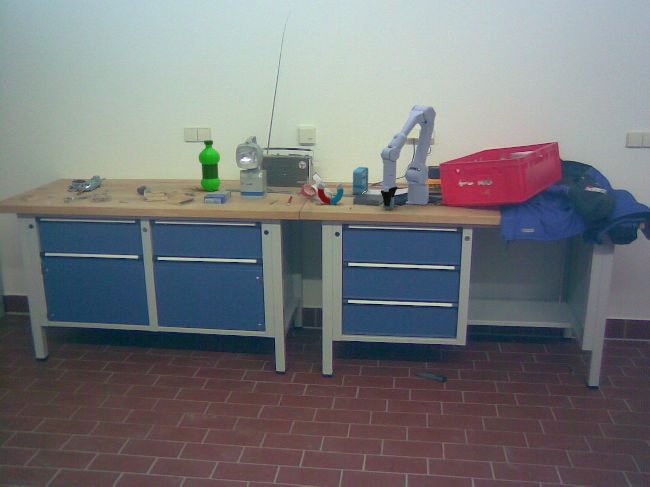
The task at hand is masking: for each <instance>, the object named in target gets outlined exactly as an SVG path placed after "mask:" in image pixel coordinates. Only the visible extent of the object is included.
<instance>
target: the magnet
mask: <svg viewBox="0 0 650 487" xmlns="http://www.w3.org/2000/svg"><path fill="white" fill-rule="evenodd" d="M325 187H326V184H325V183H323V182H321V181H320V182H319V184H318V187H317V197H318V198H319V199H320V201H321V202H322V203H323V204H325V205H330V206H332V205H335V204H338V203H339V202H340V201H341V200H342V198H343V195H344V186H343V183H342V182H339V183H337V184H336V185H335V188H336V194H335V196H333V197H330V196H327V195H326V194H325Z"/></svg>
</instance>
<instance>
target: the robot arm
mask: <svg viewBox="0 0 650 487" xmlns="http://www.w3.org/2000/svg"><path fill="white" fill-rule="evenodd" d="M408 113H409V114H408V115H409V117H408V118H407V120H406V122H405V123H404V124H403V126H402V129H401V130H400V132H398V133H396V134H394V135H393V137H392V139H391V140H390V142H389V143H388V145H387V146H386V147H384V148H383V149H382V150H381V153H380V157H381V159H382V165H383V166H382V167H383V168H382V171H383V172H382V183H380V184H379V185H380V186H381V187H382V188H383V189H381V190H380V195H382V196H383V200H384V201H383V206H384V205H385V206H390V202H391V197H394V198H395V194H396V192H397V190H398V186H397V182H396V181H397V160H398V159H399V158H400V155H401V151H402V149H403V147H405V144H406V143H407V142H408V139H407V137H408V136H409V134H410V133H411V132H412V130H414V128H415V127H416V126H417V124H419V126H420V132H419V135H418V141H417V144H416V148H415V153H414V158H413V161H412V162H411V163H409V164H408V167H407V170H406V171H405V173H404V178H405V180H406V181H407V185H408V187H407V200H408V201H407V200H406V201H405V204H407V205H410V204H411V205H421V206H422V205H423V206H424V205H425V206H426V205H427V204H428V202H429V194H430V191H429V190H430V184H426V183H427V182H428V179H429V168H428V166H427V165H426V162H427V157H428V154H429V149H430V145H431V140H432V137H433V132H434V129H435V128H434V127H435V118H436V115H437V112H436V110H435V109H434V107H433V106H427V105H426V106H425V105H417V104H415V105H413V106H412V108H411V109H410V111H409V112H408Z"/></svg>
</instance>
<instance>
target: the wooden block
mask: <svg viewBox="0 0 650 487" xmlns="http://www.w3.org/2000/svg"><path fill="white" fill-rule="evenodd" d="M382 207H383V209H390V210H391V209H392V210H393V208H394V207H395V196H394V197H391V202H390V206H385V205H384V204H383V206H382Z"/></svg>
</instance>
